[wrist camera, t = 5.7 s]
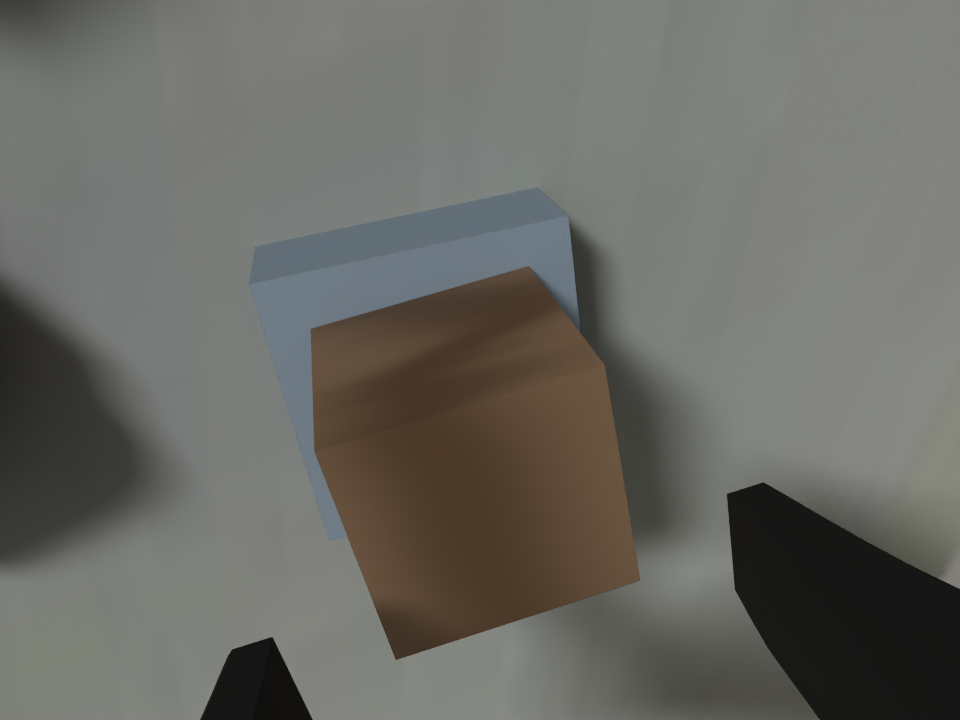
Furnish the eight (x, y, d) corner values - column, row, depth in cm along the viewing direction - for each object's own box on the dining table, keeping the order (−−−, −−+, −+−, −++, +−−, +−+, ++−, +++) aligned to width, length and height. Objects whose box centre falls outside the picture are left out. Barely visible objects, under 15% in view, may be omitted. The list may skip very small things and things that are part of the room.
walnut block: (528, 266, 18) (604, 364, 13) (565, 446, 20) (640, 580, 16) (310, 328, 17) (314, 451, 13) (374, 504, 20) (395, 659, 15)
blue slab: (533, 183, 20) (568, 215, 17) (561, 416, 23) (595, 474, 20) (256, 241, 19) (248, 284, 17) (326, 474, 22) (328, 541, 20)
